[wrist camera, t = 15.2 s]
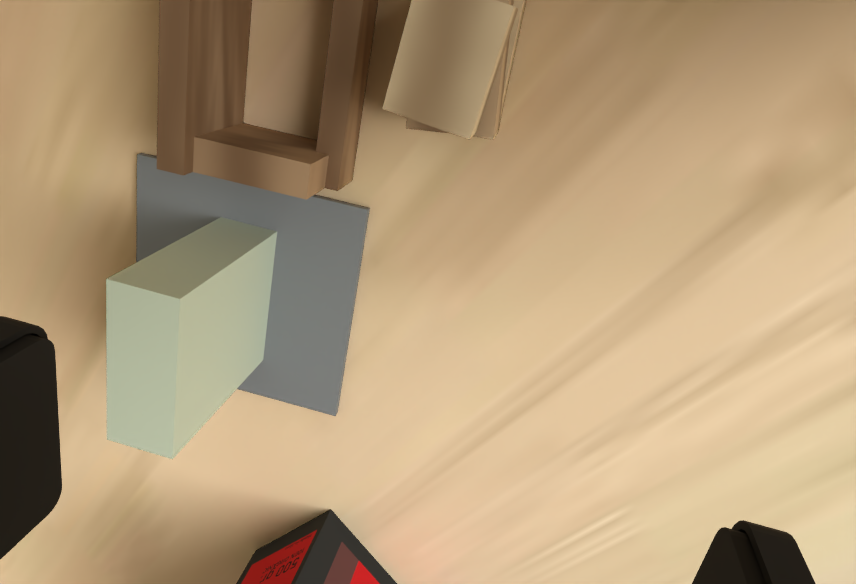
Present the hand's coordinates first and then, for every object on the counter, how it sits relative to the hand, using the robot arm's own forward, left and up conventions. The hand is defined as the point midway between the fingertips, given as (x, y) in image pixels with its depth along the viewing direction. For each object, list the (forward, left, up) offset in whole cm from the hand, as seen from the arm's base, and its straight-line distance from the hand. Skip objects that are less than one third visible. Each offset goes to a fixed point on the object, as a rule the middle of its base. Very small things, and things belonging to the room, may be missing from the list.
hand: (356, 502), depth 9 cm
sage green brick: (+16, +14, -32) cm, 38 cm away
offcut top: (+4, -4, -27) cm, 27 cm away
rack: (+14, -4, -32) cm, 35 cm away
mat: (+16, +14, -32) cm, 39 cm away
